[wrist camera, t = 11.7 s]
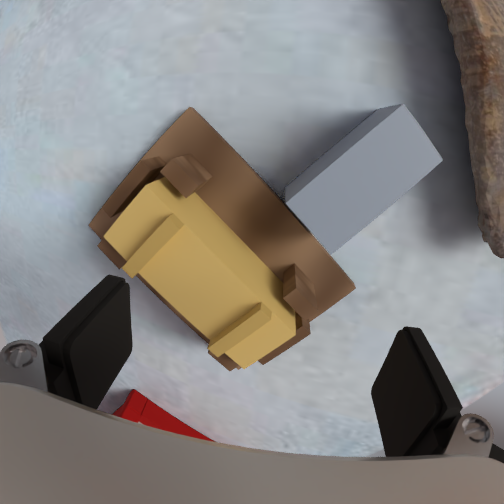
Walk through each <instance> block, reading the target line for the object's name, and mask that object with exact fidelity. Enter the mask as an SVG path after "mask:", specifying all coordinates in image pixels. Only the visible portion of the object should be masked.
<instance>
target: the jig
mask: <svg viewBox="0 0 504 504" xmlns="http://www.w3.org/2000/svg"><path fill="white" fill-rule="evenodd" d="M163 177H166V178H167V179H168V180H169V181H170V182H171V184H172V185H173V186H174V187H175V188H176V189H177V190H178V191H179V192H180V193H181V194H182V195H183V196H184V197H185V198H187V197H188V196H190V195H191V194H193V193H194V192H195V193H196V194H197V195H198V196H199V197H200V198H201V199H202V200H203V201H204V202H205V203H206V204H207V205H208V206H209V207H210V208H211V209H212V210H213V211H214V212H215V213H216V214H217V215H218V216H219V217H220V218H221V219H222V220H223V221H224V222H225V224H226V225H227V226H228V227H229V228H230V229H231V230H232V231H233V232H234V233H235V234H236V235H237V236H238V237H239V238H240V239H241V240H242V241H243V242H244V243H245V244H246V245H247V246H248V247H249V248H250V249H251V250H252V251H253V252H254V253H255V254H256V255H257V257H258V258H259V259H260V260H261V261H262V262H263V263H264V264H265V265H266V266H267V267H268V268H269V269H270V270H271V271H272V272H273V273H274V274H275V275H276V276H277V277H278V278H279V279H280V280H281V281H282V282H283V299H284V300H285V301H286V302H287V303H288V304H289V305H290V306H291V307H292V308H293V309H294V310H295V325H296V335H295V336H294V337H292V338H291V339H289V340H288V341H286V342H285V343H283V344H282V345H280V346H279V347H277V348H276V349H274V350H273V351H271V352H270V353H268V354H267V355H265V356H264V357H262V358H261V359H259V360H258V361H259V362H260V363H261V364H262V365H264V364H265V363H267V362H269V361H270V360H272V359H273V358H275V357H276V356H278V355H279V354H281V353H282V352H284V351H286V350H287V349H289V348H290V347H292V346H293V345H295V344H296V343H298V342H299V341H301V340H302V339H304V338H305V337H307V336H308V335H309V334H310V324H309V322H310V321H312V320H313V319H315V318H316V317H317V316H319V315H320V314H322V313H323V312H324V311H326V310H327V309H329V308H330V307H331V306H333V305H334V304H335V303H337V302H338V301H339V300H341V299H342V298H344V297H345V296H346V295H348V294H349V293H350V292H352V291H353V290H354V289H355V288H356V287H355V285H354V283H353V282H352V280H351V279H350V278H349V277H348V276H347V274H346V273H345V272H344V271H343V270H342V269H341V267H340V266H339V265H338V264H337V263H336V261H335V260H334V259H333V258H332V257H331V256H330V254H329V253H328V252H327V251H326V250H325V249H324V248H323V246H322V245H321V244H320V243H319V242H318V241H317V239H316V238H315V237H314V236H313V235H312V234H311V233H310V231H309V230H308V229H307V228H306V227H305V226H304V225H303V224H302V222H301V221H300V220H299V219H298V218H297V217H296V216H295V215H294V213H293V212H292V211H291V210H290V209H289V208H288V207H287V206H286V205H285V203H284V202H283V201H282V200H281V199H280V198H279V197H278V196H277V195H276V194H275V193H274V191H273V190H272V189H271V188H270V187H269V186H268V185H267V184H266V183H265V182H264V181H263V180H262V178H261V177H260V176H259V175H258V174H257V173H256V172H255V171H254V170H253V169H252V168H251V167H250V166H249V165H248V164H247V162H246V161H245V160H244V159H243V158H242V157H241V156H240V155H239V154H238V153H237V152H236V151H235V150H234V149H233V148H232V147H231V146H230V145H229V144H228V143H227V142H226V141H225V140H224V139H223V138H222V136H221V135H220V134H219V133H218V132H217V131H216V130H215V129H214V128H213V127H212V126H211V125H210V124H209V123H208V122H207V121H206V120H205V119H204V118H203V117H202V116H201V115H200V114H199V113H198V112H197V111H196V110H195V109H194V108H192V107H189V108H188V109H187V110H186V111H185V112H184V113H183V114H182V115H181V116H180V117H179V118H178V119H177V120H176V121H175V122H174V123H173V125H172V126H171V127H170V128H169V129H168V130H167V131H166V132H165V133H164V134H163V135H162V136H161V137H160V138H159V140H158V141H157V142H156V143H155V144H154V145H153V146H152V147H151V148H150V150H149V151H148V152H147V153H146V154H145V155H144V156H143V158H142V159H141V160H140V161H139V162H138V163H137V164H136V166H135V167H134V168H133V169H132V170H131V172H130V173H129V174H128V175H127V176H126V178H125V179H124V180H123V181H122V182H121V184H120V185H119V186H118V187H117V189H116V190H115V191H114V192H113V194H112V195H111V196H110V197H109V199H108V200H107V201H106V203H105V204H104V205H103V206H102V208H101V209H100V210H99V212H98V213H97V214H96V216H95V217H94V218H93V220H92V221H91V222H90V224H89V226H90V228H91V229H92V230H93V231H94V232H95V233H96V234H97V235H98V236H99V237H100V239H101V242H100V243H99V244H98V247H99V248H100V250H101V251H102V252H103V253H104V254H105V255H106V256H107V257H108V258H109V259H110V260H111V261H112V262H113V263H114V264H115V265H116V266H117V267H118V268H119V269H120V268H122V267H123V266H124V265H125V264H126V263H127V261H126V260H125V259H124V258H123V257H122V256H121V255H120V254H119V253H118V252H117V251H116V249H115V248H114V247H113V246H112V245H111V244H110V243H109V242H108V241H107V240H106V239H105V238H104V237H103V236H104V235H105V234H106V232H107V231H108V230H109V229H110V227H111V226H112V225H113V224H114V222H115V221H116V220H117V219H118V217H119V216H120V215H121V214H122V213H123V211H124V210H125V209H126V208H127V207H128V205H129V204H130V203H131V202H132V201H133V199H134V198H135V197H136V196H137V195H138V193H139V192H140V191H141V190H142V189H143V188H144V187H145V185H147V184H149V183H152V182H154V181H156V180H159V179H161V178H163ZM136 276H137V277H138V278H139V279H140V280H141V281H142V282H143V283H144V284H145V285H146V286H147V287H148V288H149V289H150V290H151V291H152V292H153V293H154V294H155V295H156V296H157V297H158V298H159V299H160V300H161V301H162V302H163V303H164V304H166V305H167V306H168V307H169V308H170V309H171V310H172V311H173V312H174V313H175V314H176V315H177V316H178V317H179V318H180V319H181V320H183V321H184V322H185V323H186V324H187V325H188V326H189V327H190V328H191V329H192V330H194V331H195V332H196V333H197V334H198V335H199V336H200V337H201V338H202V339H204V340H205V341H206V342H207V343H208V344H209V342H210V340H209V339H208V338H207V337H206V336H205V335H204V334H202V333H201V332H200V331H199V330H198V329H197V328H196V327H195V326H194V325H192V324H191V323H190V322H189V321H188V320H187V319H186V318H185V317H184V316H183V315H182V314H181V313H179V312H178V311H177V310H176V309H175V308H174V307H173V306H172V305H171V304H170V303H169V302H168V301H167V300H166V299H165V298H164V297H162V296H161V295H160V294H159V293H158V292H157V291H156V290H155V289H154V288H153V287H152V286H151V285H150V284H149V283H148V282H147V281H146V280H145V279H144V278H143V277H142V276H141V275H140V274H139V273H137V274H136ZM208 353H209V354H210V355H211V356H212V357H213V358H215V359H216V360H217V361H218V362H219V363H220V364H222V365H223V366H224V367H225V368H226V369H228V370H229V371H231V370H233V369H234V368H237V369H238V370H239V369H240V368H242V367H241V366H239V365H238V364H237V363H236V362H235V361H233V360H232V359H231V358H230V357H229V356H228V355H226V354H225V353H223V354H222V355H220V356H219V357H217V356H215V355H214V354H213V353H212V352H211V351H210V350H209V351H208Z"/></svg>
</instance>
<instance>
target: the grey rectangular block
mask: <svg viewBox="0 0 504 504" xmlns="http://www.w3.org/2000/svg"><path fill="white" fill-rule="evenodd" d="M442 161H443V159H442V157H441V156H440V154H439V153H438V151H437V150H436V148H435V147H434V145H433V144H432V142H431V141H430V139H429V138H428V136H427V135H426V133H425V132H424V131H423V129H422V128H421V126H420V125H419V123H418V122H417V121H416V119H415V118H414V117H413V115H412V114H411V113H410V111H409V110H408V109H407V107H406V106H405V105H404V104H399V105H395V106H390V107H385V108H380V109H378V110H376V111H375V112H374V113H373V114H371V115H370V116H369V117H368V118H367V119H365V120H364V121H363V122H362V123H361V124H359V125H358V126H357V127H356V128H355V129H353V130H352V131H351V132H350V133H349V134H347V135H346V136H345V137H344V138H343V139H341V140H340V141H339V142H338V143H337V144H336V145H334V146H333V147H332V148H331V149H330V150H328V151H327V152H326V153H325V154H324V155H323V156H321V157H320V158H319V159H318V160H317V161H316V162H314V163H313V164H312V165H311V166H310V167H308V168H307V169H306V170H305V171H304V172H303V173H301V174H300V175H299V176H298V177H297V178H296V179H295V180H293V181H292V182H291V183H290V184H289V185H288V186H286V187H285V203H286V204H287V205H288V207H289V208H290V209H291V210H292V211H293V212H294V213H295V214H296V216H297V217H298V218H299V219H300V220H301V221H302V222H303V223H304V225H305V226H306V227H307V228H308V229H309V230H310V231H311V232H312V234H313V235H314V236H315V237H316V238H317V239H318V240H319V242H320V243H321V244H322V245H323V246H324V247H325V249H326V250H327V251H328V252H329V253H330V254H332V253H334V252H335V251H336V250H337V249H339V248H340V247H341V246H342V245H344V244H345V243H346V242H347V241H349V240H350V239H351V238H352V237H353V236H355V235H356V234H357V233H358V232H360V231H361V230H362V229H363V228H365V227H366V226H367V225H368V224H369V223H371V222H372V221H373V220H374V219H375V218H377V217H378V216H379V215H380V214H381V213H383V212H384V211H385V210H386V209H387V208H389V207H390V206H391V205H392V204H393V203H394V202H396V201H397V200H398V199H399V198H400V197H402V196H403V195H404V194H405V193H406V192H407V191H409V190H410V189H411V188H412V187H413V186H414V185H416V184H417V183H418V182H419V181H420V180H421V179H422V178H424V177H425V176H426V175H427V174H428V173H429V172H430V171H432V170H433V169H434V168H435V167H436V166H437V165H438V164H439V163H441V162H442Z"/></svg>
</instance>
